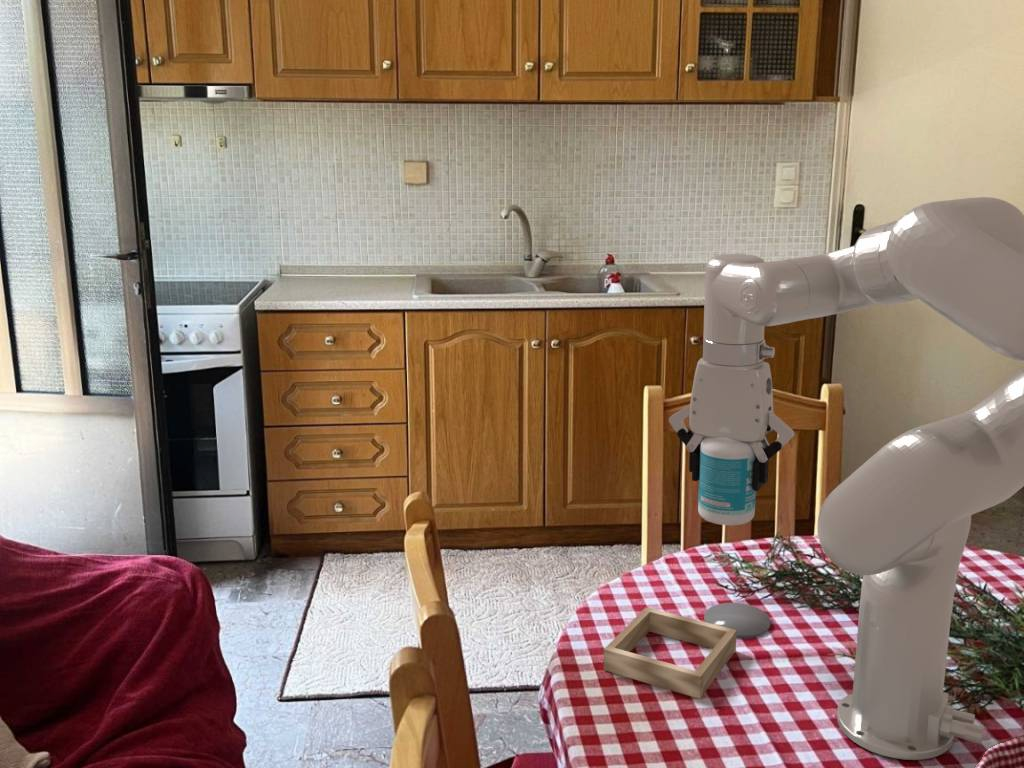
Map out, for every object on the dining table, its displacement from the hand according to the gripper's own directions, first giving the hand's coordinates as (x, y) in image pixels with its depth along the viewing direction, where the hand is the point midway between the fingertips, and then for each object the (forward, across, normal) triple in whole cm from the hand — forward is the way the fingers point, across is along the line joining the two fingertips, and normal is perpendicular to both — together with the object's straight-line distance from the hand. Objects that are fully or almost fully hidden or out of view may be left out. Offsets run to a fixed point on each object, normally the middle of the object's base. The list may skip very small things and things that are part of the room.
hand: (727, 481), depth 132 cm
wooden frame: (+22, +4, +10) cm, 24 cm away
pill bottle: (+5, 0, 0) cm, 5 cm away
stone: (+22, -1, -3) cm, 22 cm away
